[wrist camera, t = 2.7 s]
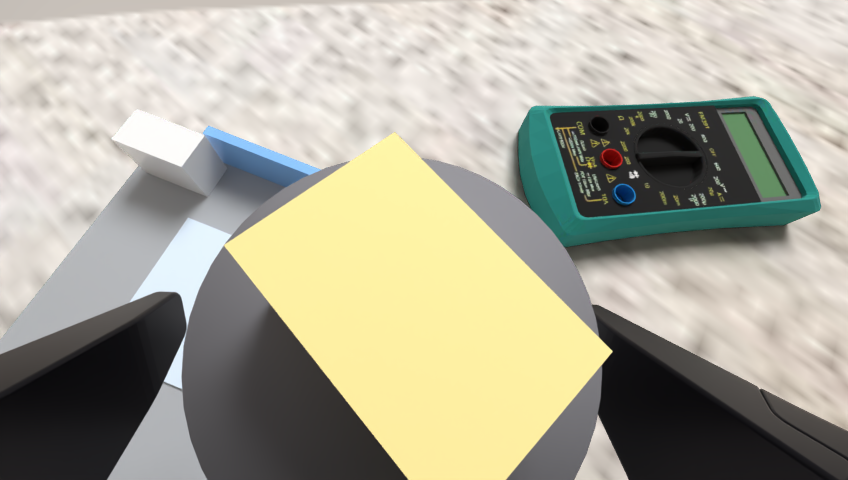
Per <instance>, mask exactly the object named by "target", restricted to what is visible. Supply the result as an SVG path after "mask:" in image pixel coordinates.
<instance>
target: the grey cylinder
mask: <svg viewBox="0 0 848 480" xmlns="http://www.w3.org/2000/svg"><path fill="white" fill-rule="evenodd" d="M612 352H613V351H612V350H611V349H610V348H609V347H608V346H607V345H606V344H605V343H604V342H603V341H602V340H601V339H600V338H599V333H598V328H597V322H596V317H595V314H594V311H593V307H592V304H591V301H590V298H589V294H588V292H587V290H586V287H585V285H584V283H583V280H582V278H581V276H580V274H579V271H578V269H577V268H576V266H575V264H574V263H573V261H572V259H571V257H570V256H569V254H568V252H567V250H566V249H565V248H564V246H563V245H562V244H561V242H560V241H559V240H558V238H557V237H556V236H555V234H554V233H553V231H552V230H551V229H550V228H549V227H548V226H547V225H546V224H545V223H544V222H543V221H542V219H541V218H540V217H539V216H538V215H537V214H536V213H535V212H534V211H532V210H531V209H530V208H529V207H528V206H527V205H525V204H524V203H523V202H522V201H521V200H520V199H518V198H517V197H515V196H514V195H513V194H511V193H510V192H508V191H507V190H505V189H504V188H502V187H501V186H499V185H497V184H496V183H494V182H492V181H490V180H488V179H486V178H484V177H482V176H481V175H478V174H476V173H473V172H471V171H468V170H466V169H463V168H461V167H458V166H454V165H451V164H447V163H443V162H440V161H435V160H429V159H423V158H420V157H419V156H418V155H417V154H416V153H415V152H414V151H413V150H412V149H411V148H410V147H409V146H408V145H407V144H406V143H405V142H404V141H403V140H402V139H401V138H400V137H399V136H398V135H397V134H396V133H395V132H394V133H393V134H391V135H390V136H388V137H387V138H385V139H384V140H382V141H381V142H379V143H378V144H376V145H374V146H373V147H371V148H370V149H368V150H367V151H365V152H364V153H362V154H361V155H359V156H358V157H356V158H355V159H353V160H352V161H349V162H345V163H342V164H338V165H335V166H331V167H328V168H325V169H322V170H320V171H318V172H315V173H313V174H311V175H308V176H306V177H304V178H302V179H300V180H298V181H296V182H295V183H293V184H291V185H289V186H288V187H286V188H284V189H282V190H281V191H280V192H278V193H277V194H275V195H274V196H273V197H271V198H270V199H269V200H267V201H266V202H264V203H263V204H262V205H261V206H260V207H259V208H257V209H256V210H255V211H254V212H253V213H252V214H251V215H250V216H249V217H248V218H247V219H246V220H245V221H244V222H243V223H242V224H241V225H240V226H239V227H238V228H237V230H236V231H235V232H234V233H233V234H232V236H231V237H230V238H229V239H228V240H227V241H226V243H225V244H224V246H223V247H222V249H221V250H220V252H219V254H218V255H217V257H216V258H215V260H214V261H213V263H212V264H211V266H210V268H209V270H208V272H207V274H206V276H205V278H204V280H203V282H202V284H201V286H200V288H199V291H198V294H197V296H196V299H195V302H194V305H193V308H192V311H191V314H190V317H189V322H188V326H187V331H186V336H185V341H184V346H183V360H182V375H181V378H182V392H183V407H184V412H185V417H186V422H187V426H188V431H189V435H190V440H191V442H192V445H193V448H194V450H195V453H196V456H197V458H198V461H199V464H200V466H201V469H202V471H203V473H204V475H205V477H206V478H207V480H574V479H575V477H576V475H577V473H578V471H579V469H580V467H581V464H582V462H583V460H584V458H585V456H586V454H587V451H588V448H589V444H590V441H591V438H592V435H593V432H594V429H595V425H596V420H597V415H598V409H599V404H600V398H601V382H602V364H603V363H604V361H605V360H606V359H607V358H608V357H609V355H610V354H611V353H612Z"/></svg>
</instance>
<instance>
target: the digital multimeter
mask: <svg viewBox="0 0 848 480" xmlns="http://www.w3.org/2000/svg"><path fill="white" fill-rule="evenodd" d="M678 128H679V129H678ZM637 134H638V135H637ZM688 134H689V135H688ZM635 138H636V139H635ZM634 142H635V143H634ZM699 145H700V146H699ZM701 148H702V149H701ZM704 154H705V155H704ZM518 156H519V168H520V176H521V180H522V184H523V188H524V192H525V196H526V198H527V200H528V202H529V205H530V207H531V209H532V211H534V212H535V213H536V214H537V215H538V216H539V217H540V218H541V219H542V221H543V222H544V223H545V224H546V225H547V226H548V227H549V228H550V229H551V230H552V231H553V233H554V234H555V236H556V237H557V238H558V240H559V241H560V242H561V244H562V245H563V246H564V247H569V246H576V245H582V244H588V243H595V242H601V241H607V240H615V239H623V238H630V237H638V236H645V235H653V234H661V233H670V232H681V231H693V230H705V229H717V228H734V227H756V226H777V225H786V224H788V223H791V222H793V221H796V220H798V219H800V218H803V217H805V216H808V215H810V214H813V213H815V212H817V211H819V210H820V208H821V204H820V198H819V192H818V190H817V188H816V186H815V184H814V181H813V179H812V177H811V175H810V173H809V171H808V169H807V167H806V165H805V163H804V161H803V159H802V157H801V155H800V153H799V152H798V150H797V148H796V146H795V144H794V143H793V141H792V139H791V137H790V135H789V134H788V132H787V130H786V129H785V127H784V125H783V124H782V122H781V121H780V119H779V117H778V116H777V114H776V113H775V111H774V109H773V108H772V106H771V105H770V103H769V102H768V101H767V100H765V99H763V98H760V97H755V96H752V97H742V98H732V99H721V100H711V101H701V102H683V103H663V104H641V105H609V106H534V107H532V108H531V109H530V110H529V112H528V114H527V116H526V118H525V119H524V121H523V123H522V125H521V127H520V129H519V139H518ZM706 159H707V161H706ZM706 172H707V173H706ZM744 203H746V204H744ZM733 204H735V205H733ZM722 205H724V206H722ZM711 206H713V207H711ZM700 207H702V208H700ZM689 208H691V209H689ZM678 209H680V210H678ZM667 210H669V211H667ZM656 211H658V212H656ZM645 212H647V213H645ZM634 213H636V214H634ZM622 214H625V215H622ZM600 216H602V217H600ZM589 217H591V218H589Z"/></svg>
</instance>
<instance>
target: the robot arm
mask: <svg viewBox="0 0 848 480" xmlns="http://www.w3.org/2000/svg"><path fill="white" fill-rule="evenodd" d="M592 307H593V311H594V314H595V317H596V322H597V328H598V333H599V338H600V339H601V340H602V341H603V342H604V343H605V344H606V345H607V346H608V347H609V348H610V349H611V350H612V351H613V352H612V353H611V354H610V355H609V357H608V358H607V359H606V360H605V361H604V363H603V364H602V382H601V398H600V404H599V409H598V415H599V418H600V420H601V422H602V424H603V426H604V428H605V430H606V432H607V434H608V437H609V439H610V441H611V443H612V445H613V447H614V449H615V451H616V453H617V456H618V458H619V460H620V462H621V464H622V466H623V468H624V470H625V472H626V475H627V477H628V479H629V480H848V431H847V430H844V429H842V428H840V427H838V426H836V425H834V424H832V423H830V422H828V421H825V420H823V419H821V418H819V417H817V416H815V415H813V414H811V413H809V412H807V411H805V410H803V409H801V408H799V407H797V406H795V405H793V404H791V403H789V402H787V401H785V400H783V399H781V398H779V397H777V396H775V395H773V394H771V393H769V392H767V391H765V390H763V389H759V388H758V387H757V386H755V385H754V384H752V383H750V382H748V381H746V380H744V379H742V378H740V377H738V376H736V375H734V374H732V373H730V372H728V371H726V370H724V369H722V368H720V367H718V366H716V365H714V364H712V363H710V362H709V361H707V360H705V359H703V358H701V357H699V356H697V355H695V354H693V353H691V352H689V351H687V350H685V349H683V348H681V347H679V346H677V345H675V344H673V343H671V342H669V341H667V340H665V339H664V338H662V337H660V336H658V335H656V334H654V333H652V332H650V331H648V330H646V329H644V328H642V327H640V326H638V325H636V324H634V323H632V322H630V321H628V320H626V319H624V318H622V317H621V316H619V315H617V314H615V313H613V312H611V311H609V310H607V309H605V308H603V307H601V306H599V305H592ZM186 330H187V322H186V317H185V312H184V307H183V302H182V298H181V296H180V294H178V293H177V292H162V291H159V292H155V293H152V294H150V295H147V296H145V297H142V298H140V299H137V300H135V301H132V302H130V303H127V304H125V305H122V306H120V307H117V308H115V309H112V310H110V311H107V312H105V313H102V314H99V315H97V316H94V317H92V318H89V319H87V320H84V321H82V322H79V323H77V324H74V325H72V326H69V327H67V328H64V329H62V330H59V331H57V332H54V333H52V334H49V335H47V336H44V337H42V338H39V339H37V340H34V341H32V342H29V343H27V344H24V345H22V346H19V347H17V348H14V349H12V350H9V351H7V352H4V353H2V354H0V480H107V479H108V478H109V476H110V474H111V473H112V471H113V469H114V468H115V466H116V464H117V463H118V461H119V459H120V458H121V456H122V454H123V452H124V451H125V449H126V447H127V446H128V444H129V442H130V441H131V439H132V437H133V436H134V434H135V432H136V431H137V429H138V427H139V426H140V424H141V422H142V421H143V419H144V417H145V416H146V414H147V412H148V411H149V409H150V407H151V406H152V404H153V402H154V400H155V399H156V397H157V395H158V393H159V391H160V389H161V387H162V384H163V382H164V380H165V378H166V376H167V374H168V371H169V369H170V367H171V365H172V363H173V361H174V358H175V356H176V354H177V352H178V350H179V348H180V345H181V343H182V341H183V339H184V337H185V334H186Z"/></svg>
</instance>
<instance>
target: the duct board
mask: <svg viewBox="0 0 848 480" xmlns="http://www.w3.org/2000/svg"><path fill="white" fill-rule="evenodd" d="M203 134H204V135H203ZM203 134H200V133H197V132H195V131H192V130H190V129H187V128H185V127H182V126H180V125H177V124H174V123H172V122H169V121H167V120H164V119H162V118H159V117H157V116H154V115H152V114H149V113H146V112H144V111H141V110H139V109H136V110H135V111H134V113H133V114H132V115H131V116H130V117H129V118H128V120H127V121H126V122H125V123H124V124H123V125H122V127H121V128H120V129H119V130H118V131H117V132H116V134H115V135H114V136H113V137H112V138H111V140H112V141H113V142H115V143H116V144H117V145H118V146H119V147H120V148H121V149H122V150H123V151H124V152H125V153H126V154H127V155H128V156H129V157H130V158H131V159H133V160H134V161H135V162H136V163H137V164H138V165H139V166H138V167H137V168H136V170H135V171H134V172H133V174H132V175H131V176H130V177H129V179H128V180H127V181H126V182H125V184H124V185H123V186H122V187H121V189H120V190H119V191H118V192H117V194H116V195H115V196H114V197H113V199H112V200H111V201H110V202H109V204H108V205H107V206H106V207H105V209H104V210H103V211H102V212H101V214H100V215H99V216H98V217H97V219H96V220H95V221H94V223H93V224H92V225H91V226H90V228H89V229H88V230H87V231H86V233H85V234H84V235H83V236H82V238H81V239H80V240H79V241H78V243H77V244H76V245H75V246H74V248H73V249H72V250H71V251H70V253H69V254H68V255H67V256H66V258H65V259H64V260H63V261H62V263H61V264H60V265H59V267H58V268H57V269H56V270H55V272H54V273H53V274H52V275H51V277H50V278H49V279H48V280H47V282H46V283H45V284H44V285H43V287H42V288H41V289H40V290H39V292H38V293H37V294H36V295H35V297H34V298H33V299H32V300H31V302H30V303H29V304H28V305H27V307H26V308H25V309H24V310H23V312H22V313H21V314H20V316H19V317H18V318H17V319H16V321H15V322H14V323H13V324H12V326H11V327H10V328H9V329H8V331H7V332H6V333H5V334H4V336H3V337H2V338H1V339H0V354H2V353H4V352H7V351H9V350H12V349H14V348H17V347H19V346H22V345H24V344H27V343H29V342H32V341H34V340H37V339H39V338H42V337H44V336H47V335H49V334H52V333H54V332H57V331H59V330H62V329H64V328H67V327H69V326H72V325H74V324H77V323H79V322H82V321H84V320H87V319H89V318H92V317H94V316H97V315H99V314H102V313H105V312H107V311H110V310H112V309H115V308H117V307H120V306H122V305H125V304H127V303H130V302H132V301H135V300H137V299H140V298H142V297H145V296H147V295H150V294H152V293H155V292H159V291H162V292H177V293H178V294H180V296H181V298H182V302H183V307H184V312H185V317H186V322H187V326H188V322H189V317H190V314H191V311H192V308H193V305H194V302H195V299H196V296H197V294H198V291H199V288H200V286H201V284H202V282H203V280H204V278H205V276H206V274H207V272H208V270H209V268H210V266H211V264H212V263H213V261H214V260H215V258H216V257H217V255H218V254H219V252H220V250H221V249H222V247H223V246H224V244H225V243H226V241H227V240H228V239H229V238H230V237H231V236H232V234H233V233H234V232H235V231H236V230H237V228H238V227H239V226H240V225H241V224H242V223H243V222H244V221H245V220H246V219H247V218H248V217H249V216H250V215H251V214H252V213H253V212H254V211H255V210H256V209H257V208H259V207H260V206H261V205H262V204H263V203H264V202H266V201H267V200H269V199H270V198H271V197H273V196H274V195H275V194H277V193H278V192H280V191H281V190H282V189H284V188H286V187H288V186H289V185H291V184H293V183H295V182H296V181H298V180H300V179H302V178H304V177H306V176H308V175H311V174H313V173H315V172H318V171H320V169H317V168H315V167H312V166H310V165H307V164H305V163H302V162H300V161H297V160H294V159H292V158H289V157H287V156H284V155H282V154H279V153H277V152H274V151H271V150H269V149H266V148H264V147H261V146H259V145H256V144H254V143H251V142H248V141H246V140H243V139H241V138H238V137H236V136H233V135H231V134H228V133H225V132H223V131H220V130H218V129H215V128H213V127H210V126H208V127H207V128H206V130H205V131H204V132H203ZM186 331H187V330H186ZM185 336H186V334H185ZM184 341H185V337H184V339H183V341H182V343H181V345H180V348H179V350H178V352H177V354H176V356H175V358H174V361H173V363H172V365H171V367H170V369H169V371H168V374H167V376H166V378H165V380H164V382H163V384H162V387H161V389H160V391H159V393H158V395H157V397H156V399H155V400H154V402H153V404H152V406H151V407H150V409H149V411H148V412H147V414H146V416H145V417H144V419H143V421H142V422H141V424H140V426H139V427H138V429H137V431H136V432H135V434H134V436H133V437H132V439H131V441H130V442H129V444H128V446H127V447H126V449H125V451H124V452H123V454H122V456H121V458H120V459H119V461H118V463H117V464H116V466H115V468H114V469H113V471H112V473H111V474H110V476H109V478H108V479H107V480H207V478H206V477H205V475H204V473H203V471H202V469H201V466H200V464H199V461H198V458H197V456H196V453H195V450H194V448H193V445H192V442H191V440H190V435H189V431H188V426H187V422H186V417H185V412H184V407H183V392H182V378H181V375H182V360H183V346H184Z"/></svg>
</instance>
